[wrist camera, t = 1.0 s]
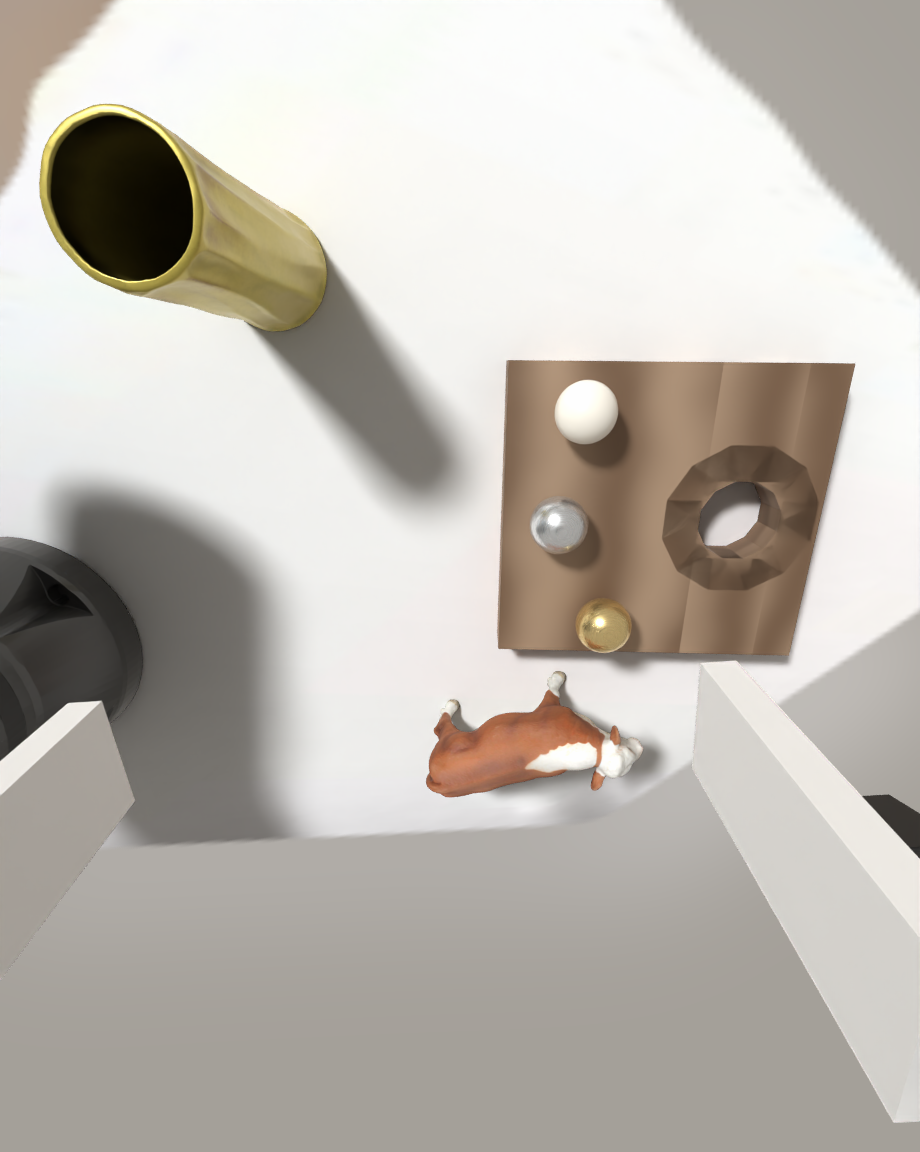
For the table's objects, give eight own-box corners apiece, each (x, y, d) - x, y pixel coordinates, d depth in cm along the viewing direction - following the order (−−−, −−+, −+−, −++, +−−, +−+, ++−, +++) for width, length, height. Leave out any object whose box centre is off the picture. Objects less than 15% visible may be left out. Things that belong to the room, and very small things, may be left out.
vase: (194, 259, 32) (-17, 181, 18) (274, 179, 30) (110, 30, 17) (270, 354, 33) (129, 346, 20) (350, 282, 32) (256, 220, 18)
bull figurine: (623, 711, 41) (657, 792, 33) (438, 745, 42) (429, 829, 34) (614, 657, 39) (647, 728, 31) (423, 693, 41) (409, 770, 33)
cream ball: (549, 440, 32) (556, 447, 29) (553, 378, 31) (561, 380, 28) (607, 440, 32) (621, 448, 29) (613, 379, 31) (628, 380, 28)
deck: (497, 631, 39) (498, 648, 36) (506, 360, 33) (508, 360, 31) (769, 637, 38) (788, 655, 36) (828, 363, 32) (855, 363, 30)
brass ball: (569, 637, 36) (577, 662, 33) (573, 589, 35) (582, 610, 32) (621, 638, 36) (634, 663, 33) (627, 590, 35) (641, 611, 32)
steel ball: (526, 544, 34) (530, 561, 31) (528, 490, 33) (533, 502, 30) (580, 544, 34) (590, 562, 31) (585, 490, 33) (595, 503, 30)
